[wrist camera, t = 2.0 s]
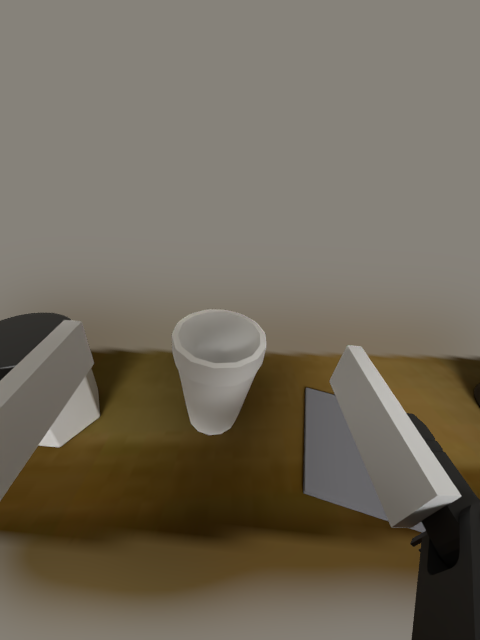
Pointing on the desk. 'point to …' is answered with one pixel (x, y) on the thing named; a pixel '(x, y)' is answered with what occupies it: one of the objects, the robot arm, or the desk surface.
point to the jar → (17, 342)
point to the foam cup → (216, 365)
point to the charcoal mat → (336, 459)
